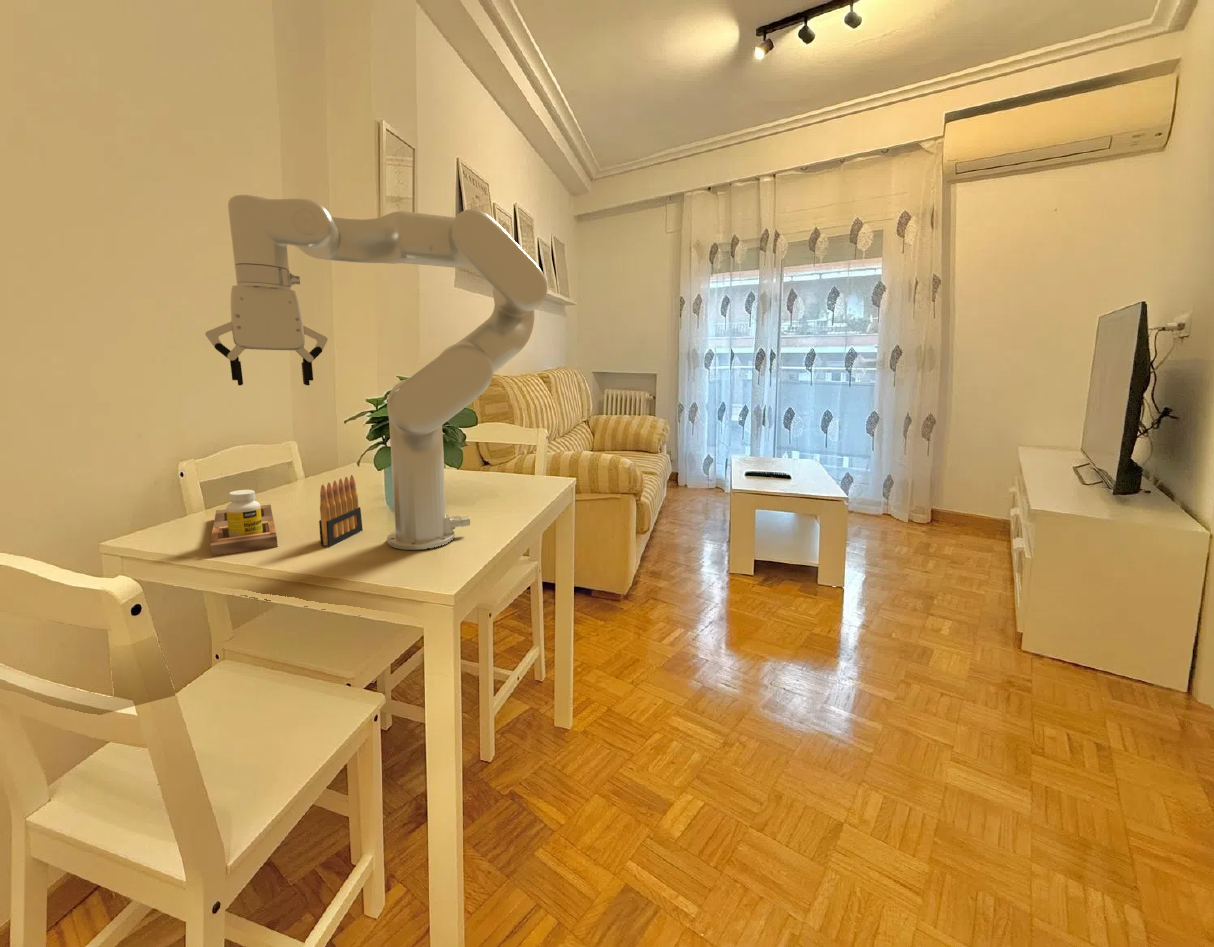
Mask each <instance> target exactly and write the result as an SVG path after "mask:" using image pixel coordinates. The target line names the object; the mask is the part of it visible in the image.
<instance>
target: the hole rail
mask: <svg viewBox="0 0 1214 947" xmlns="http://www.w3.org/2000/svg"><path fill="white" fill-rule="evenodd" d="M260 507H261V518H262V528H263V533H259V534H252V535H244V536H236V537H229V531H228V522H227V513H226V508H224V509H217V510H215V515H214V521H213V528H212V531H211V537H210V545H209V548H210V552H211V554H210V555H211V557H215V556H214V555H217V556H221V555H220V554H224V555H226V554H225V553H231V554H235V553H234V552H238V553H243V552H250V551H256V550H257V551H259V550H265V549H270V548H277V547H279V546H278V545H279V544H278V538H277V531H276V525H275V520H274V516H273V510H272V505H271V504H265V505H260Z"/></svg>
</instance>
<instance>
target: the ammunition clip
mask: <svg viewBox="0 0 1214 947" xmlns="http://www.w3.org/2000/svg"><path fill="white" fill-rule="evenodd" d="M356 485H357V483H356V480H355V477H354V475H353V474H351V475H350V477H349V478H348V477H347V476H345V478H344V480H343V479H342V478H339V481H338V482H337V481H336V480H333V483H332V484H331V482H328V483H327V485H326V487H325V484H324V483H323V484H321V487H320V490H319V492H320V493H319V497H320V498H319V499H320V502H319V504H320V505H319V512H320V520H319V521H318V523H319V524H318V525H319V537H320V538H319V539H320V541H319V542H320V546H321V547H325V548H331V547H333V546H335V545H337V544H339V543H341V542H343V541H344V540H345V541H346V540H347V539H350V538H351V537H352V536H354V535H356V534H358V533H361V532H363V520H362V510H361V509H362V508H361V507H360V506H359V495H358V493H357V486H356ZM360 531H361V532H360Z"/></svg>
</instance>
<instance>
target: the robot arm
mask: <svg viewBox="0 0 1214 947" xmlns="http://www.w3.org/2000/svg"><path fill="white" fill-rule="evenodd" d="M227 207H228V217H229V226H230V236H231V244H232V252H233V260H234V261H233V262H234V269H235V278H236V279H235V280H236V285H232V286H231V289H230V290H231V292H230V318H231V319H230V320H231V321H229V322H226V323H224V324H221V325H220V326H217V327H214V328H213V329H210V330H207V331H205V333H204V335H205V336H206V338H207V339H208V340H209V342H210V343H211V345H212V346H213V348H215V350H216V351H217V352H218V353H220V354H222V355H223V356H224V357H225V358H227V359H228V360H229V361H230V362H229V364H230V372H231V380H232V381H237V386H243V385H244V381H243V380H244V379H243V372H242V371H243V370H242V363H241V360H240V357H239V356H240V355H241V354H242V353H243V351H244V350H246V349H247V350H256V351H257V350H259V351H261V350H265V351H295V353H297V354H298V355H299V356H300V357H301V358H302V362H301V372H302V373H301V374H302V382H303V384H302V385H304V386H310V381H314V371H313V361H314V360H316V358H317V357H319V355H320V354H322V352H323V350H324V348H325V346H326V345H327V343H328V337H327V336H325V335H323V334H321V333H320V332H317V331H315V330H314V329H311V328H309V327H307V326H305V325H304V322H303V317H302V311H301V308H300V303H299V299H298V295H297V293H296V291H295V290H292V287H293V286H295V285H301V280H300V278H301V277H300V276H299V275H295V274H292V273H291V272H290V267H289V255H288V246H294V247H295V248H298V249H299V251H301V252H302V253H304V254H305V255H307V256H309V257H311V258H315V259H318V260H325V261H335V262H336V261H337V262H346V263H347V262H348V263H364V264H388V265H389V264H393V265H394V264H407V265H408V264H409V265H410V264H411V265H421V266H422V265H423V266H431V267H432V266H433V267H445V268H454V269H467V270H469V269H471V270H473V269H475V270H477V271H478V272H479V274H481V276H482V277H483V278H485V280H486V281H487V282H489V284H490V285H491V286H492V287H493V288H492V294H493V295H492V296H493V303H494V308H493V310H492V311H493V312H492V313H491V315H490V316H489V317H488V319H487V320H485V321H484V322H482V323H481V324H479V326H477V327H476V328H475V329H474V330H473V331H471V332H470V333H469V334H467V335H466V336H464V337H463V338H462V339H461V340H459V341H457V342H455V343H454V344H452V345H450V346H448V347H446V348H445V349H444V350H443V351H442V352H441V353H440V354H439V355H438V356H437V357H436V358H434V359H433V360H431V361H430V362H429V363H428V364H426V365H425V366H423V367H421V369H420V370H418V371H417V372H415V373H414V374H413V375H412V376H410V377H409V378H406V379H403V380H401V381H398V383H396V384H395V385H394V386H393V387H392V389H391V390H390V392H389V394H388V397H387V402H386V403H387V405H386V407H387V408H386V410H387V414H388V423H389V424H388V425H389V439H390V441H389V442H390V458H391V465H390V466H391V480H392V494H393V495H392V496H393V512H394V526H395V528H394V529H395V530H393V531H392V532H390V533H389V534H388V535H387V538H386V539H387V544H388V545H389V546H391V547H392V548H395V549H399V550H404V551H405V550H406V551H407V550H408V551H409V550H410V551H420V550H428V549H427V548H430V549H435V548H438V546H439V547H442V546H444V545H443V544H445V545H447V544H449V543H450V542H449V541H451V540H452V541H454V539H455V537H454V536H456V534H455V529H456V528H458V527H459V528H462V527H463V528H464V527H468V526H470V525H471V519H470V516H468V515H467V516H463V517H461V516H460V515H454V516H453V515H452V516H449V515H448V514H447V513H446V512H447V510H446V496H445V495H446V489H445V488H446V486H445V485H446V484H445V483H446V482H445V461H444V459H445V458H444V457H445V456H444V455H445V454H444V438H443V425H444V424H445V423H447V422H448V421H450V420H451V419H452V418H454V417H455V416H456V415H457V414H459V413H460V412H461V411H462V410H464V409H465V408H467V407H468V406H469V405H470V404H471V403H473V402H474V401H475V400H477V399H478V398H479V397H480V396H482V395H483V393H485V391H486V390H487V389H488V388H489V386H490V385H491V383H492V381H493V377H494V374H495V373H496V372H497V371H499V370H500V369H502V367H504V366H505V365H506V364H507V363H509V362H510V361H511V360H512V359H513V358H514V357H516V356H517V355H518V354H519V353H520V352H521V351H522V350H523V349H524V348H525V347H526V345H527V343H528V342H529V340H530V338H531V335H532V333H533V329H534V324H535V310H536V309H537V308H539V307H540V306H541V305H542V304H543V303H544V301H545V300H546V297H547V293H548V282H547V279H546V276H545V274H544V272H543V271H542V269H541V268H540V266H539V265H538V264H537V263H536V262H535V261H534V260H533V258H531V256H530V255H529V254H528V253H527V252H526V251H525V250H524V249H523V248H522V247H521V246H520V245H519V244H518V242H516V241H515V240H514V238H513V237H512V236H511V235H510V234H509V233H508V232H507V231H506V229H505V228H503V226H501V225H500V224H499V223H498V222H497V221H496V220H495V219H494V218H493V217H492V216H491V215H489V214H488V213H486V212H484V211H482V210H479V209H475V208H473V209H472V208H469V209H465V210H462V211H461V212H459V213H458V214H456V216H446V215H436V214H428V213H419V212H414V211H406V210H398V211H392V212H389V213H387V214H385V215H382V216H380V217H375V218H371V219H367V218H366V219H357V218H345V217H337V216H336V217H334V216H332V215H331V213H330V212H329V211H328V210H327V208H325V207H324V206H323V205H322V204H320V203H319V202H318V201H315V200H312V199H308V198H279V199H278V198H275V199H271V198H266V197H262V196H258V195H250V194H249V195H248V194H239V195H234V196H232V197H230V198H229V200H228V206H227ZM230 332H232V339H233V343H234V345H235V346H234V347H232V349H231V350H230V349H229V348H228V347H227V346H225V345H224V344H223V343H222V341H221V340H220V336H222V335H224V334H228V333H230ZM305 335H306V336H307V337H309V338H311V339H313V340H314V341H315V342H316V344H315V346H314V348H312V349H311V350H310V351H308V350H307V349H306V348H305V338H306V337H305ZM453 538H454V539H453ZM452 541H451V542H452ZM448 542H449V543H448ZM441 545H442V546H441ZM434 547H435V548H434Z"/></svg>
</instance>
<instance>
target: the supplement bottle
mask: <svg viewBox="0 0 1214 947" xmlns="http://www.w3.org/2000/svg"><path fill="white" fill-rule="evenodd" d="M228 495H229V501H230V502H231V503H229V504H227V506H225V507H226V508H225V509H226V513H227V522H228V531H229V537H236V536H244V535H252V534H259V533H263V528H262V518H261V507H260V506H261V504H260V502H259V501H256V500H255V499H256V492H255V490H253V489H240V490H239V489H238V490H233V491H230V492H229V493H228Z"/></svg>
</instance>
